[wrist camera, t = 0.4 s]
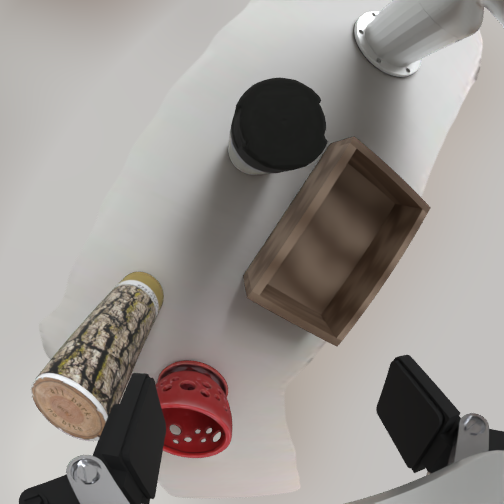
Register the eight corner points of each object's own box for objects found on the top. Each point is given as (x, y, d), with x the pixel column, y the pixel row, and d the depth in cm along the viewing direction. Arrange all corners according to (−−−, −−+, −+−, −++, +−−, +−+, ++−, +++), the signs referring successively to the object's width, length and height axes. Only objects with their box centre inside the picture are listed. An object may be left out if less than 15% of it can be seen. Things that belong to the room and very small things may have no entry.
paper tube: (139, 260, 39) (47, 361, 14) (174, 293, 40) (123, 423, 16) (112, 291, 39) (22, 398, 15) (145, 321, 41) (86, 449, 17)
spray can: (275, 123, 36) (323, 73, 16) (282, 173, 37) (338, 167, 18) (225, 129, 35) (224, 77, 16) (231, 179, 37) (238, 177, 18)
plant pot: (167, 340, 42) (151, 389, 30) (243, 370, 44) (249, 423, 33) (144, 393, 44) (129, 442, 33) (211, 418, 47) (211, 468, 35)
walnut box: (330, 143, 37) (354, 136, 29) (398, 201, 40) (430, 207, 32) (243, 275, 40) (247, 298, 33) (319, 319, 43) (337, 346, 36)
